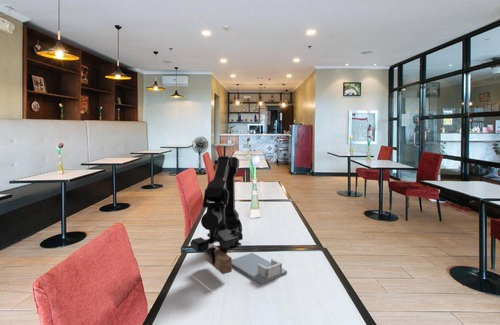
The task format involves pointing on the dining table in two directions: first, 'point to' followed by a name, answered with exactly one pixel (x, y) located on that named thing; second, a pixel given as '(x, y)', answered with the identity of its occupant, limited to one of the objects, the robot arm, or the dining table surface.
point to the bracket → (258, 267)
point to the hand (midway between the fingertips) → (217, 262)
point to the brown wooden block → (220, 261)
